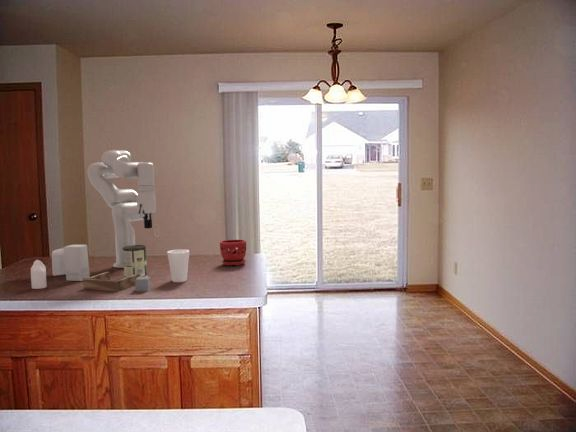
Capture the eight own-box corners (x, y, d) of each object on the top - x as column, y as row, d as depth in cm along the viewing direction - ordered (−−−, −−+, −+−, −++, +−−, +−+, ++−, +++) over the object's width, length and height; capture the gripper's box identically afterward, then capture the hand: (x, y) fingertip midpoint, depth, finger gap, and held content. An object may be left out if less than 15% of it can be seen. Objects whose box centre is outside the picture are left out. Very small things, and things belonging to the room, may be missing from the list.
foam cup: (171, 283, 249) (170, 254, 247) (165, 279, 257) (164, 250, 255) (193, 281, 253) (192, 251, 251) (186, 277, 261) (185, 248, 260)
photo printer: (74, 272, 277) (73, 246, 276) (76, 273, 274) (75, 247, 272) (51, 275, 271) (50, 248, 270) (53, 276, 268) (52, 250, 267)
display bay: (107, 280, 257) (106, 271, 257) (140, 282, 252) (139, 273, 251) (83, 288, 242) (83, 279, 242) (118, 291, 237) (117, 281, 236)
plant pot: (251, 263, 292) (251, 239, 290) (236, 267, 281) (235, 243, 280) (231, 260, 299) (230, 237, 297) (215, 265, 288) (214, 241, 286)
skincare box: (90, 278, 262) (88, 244, 260) (80, 281, 256) (78, 246, 254) (74, 277, 265) (72, 243, 263) (65, 280, 259) (62, 246, 257)
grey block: (138, 288, 241) (138, 276, 241) (150, 288, 242) (150, 276, 241) (135, 291, 236) (135, 279, 236) (148, 291, 237) (147, 279, 236)
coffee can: (134, 274, 270) (132, 244, 268) (152, 275, 266) (150, 245, 264) (119, 278, 261) (117, 247, 259) (137, 280, 256) (135, 249, 255)
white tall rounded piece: (43, 257, 249) (46, 259, 245) (45, 285, 250) (48, 287, 246) (28, 259, 246) (31, 261, 241) (30, 287, 247) (33, 289, 242)
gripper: (148, 188, 278) (150, 225, 280) (130, 190, 264) (132, 230, 266) (162, 188, 276) (163, 226, 278) (144, 190, 262) (146, 230, 264)
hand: (148, 228), depth 272 cm, fingers closed
